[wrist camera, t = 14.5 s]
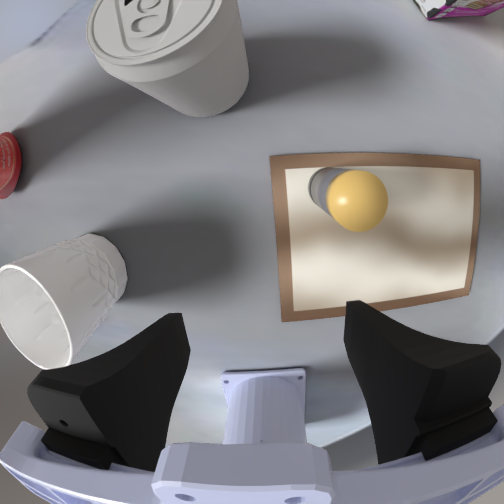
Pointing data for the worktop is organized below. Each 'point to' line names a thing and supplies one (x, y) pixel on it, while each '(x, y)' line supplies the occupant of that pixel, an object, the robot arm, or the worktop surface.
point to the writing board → (376, 235)
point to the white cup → (60, 297)
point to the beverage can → (173, 50)
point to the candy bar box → (457, 8)
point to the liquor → (9, 164)
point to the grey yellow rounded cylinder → (349, 197)
